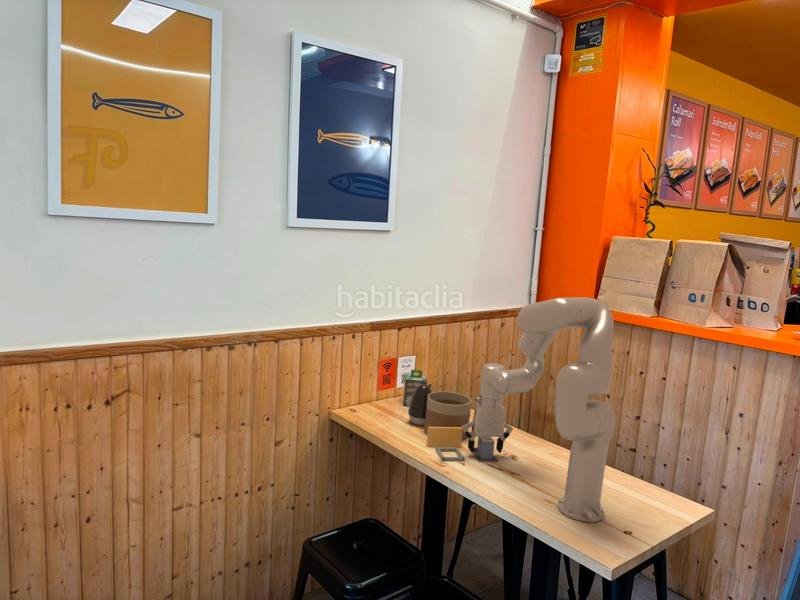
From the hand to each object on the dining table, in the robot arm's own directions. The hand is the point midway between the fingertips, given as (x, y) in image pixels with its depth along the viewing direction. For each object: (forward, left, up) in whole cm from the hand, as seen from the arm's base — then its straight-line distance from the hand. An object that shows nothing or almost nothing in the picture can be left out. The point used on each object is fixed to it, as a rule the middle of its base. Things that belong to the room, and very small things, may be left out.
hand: (484, 450), depth 194 cm
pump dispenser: (+31, +15, -2) cm, 34 cm away
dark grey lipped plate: (0, 0, -2) cm, 2 cm away
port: (+2, +12, -2) cm, 12 cm away
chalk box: (+54, +13, -2) cm, 56 cm away
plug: (0, 0, -2) cm, 2 cm away
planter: (+20, +8, -2) cm, 22 cm away
